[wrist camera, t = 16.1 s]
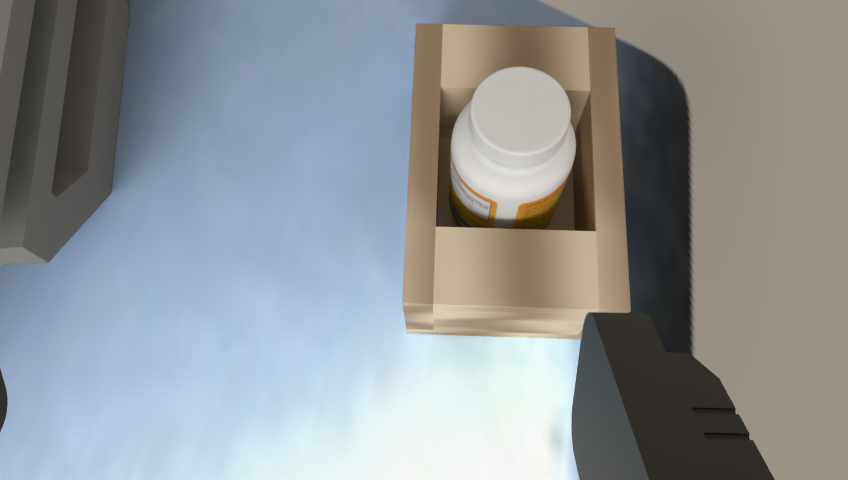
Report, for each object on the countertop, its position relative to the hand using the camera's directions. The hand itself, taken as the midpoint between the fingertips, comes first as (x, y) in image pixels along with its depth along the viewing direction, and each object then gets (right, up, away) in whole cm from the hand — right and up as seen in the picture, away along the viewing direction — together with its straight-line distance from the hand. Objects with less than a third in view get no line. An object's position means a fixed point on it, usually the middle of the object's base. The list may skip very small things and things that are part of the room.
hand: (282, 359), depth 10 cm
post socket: (+6, +3, +29) cm, 30 cm away
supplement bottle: (+6, +3, +28) cm, 29 cm away
